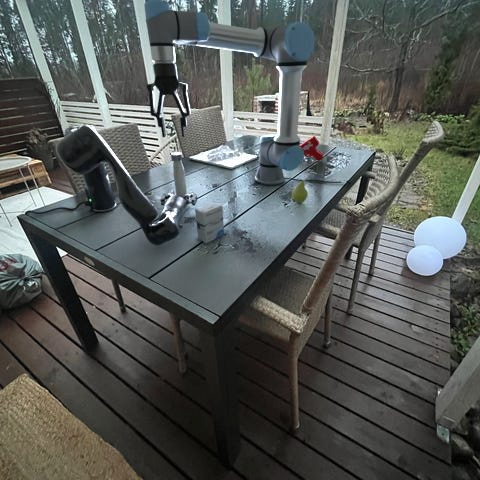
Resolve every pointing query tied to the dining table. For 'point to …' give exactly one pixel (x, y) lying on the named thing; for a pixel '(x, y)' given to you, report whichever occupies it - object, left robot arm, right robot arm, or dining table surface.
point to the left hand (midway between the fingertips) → (182, 192)
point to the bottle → (179, 179)
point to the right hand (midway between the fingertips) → (174, 136)
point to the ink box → (209, 221)
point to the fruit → (300, 192)
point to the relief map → (224, 157)
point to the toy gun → (311, 148)
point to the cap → (176, 156)
